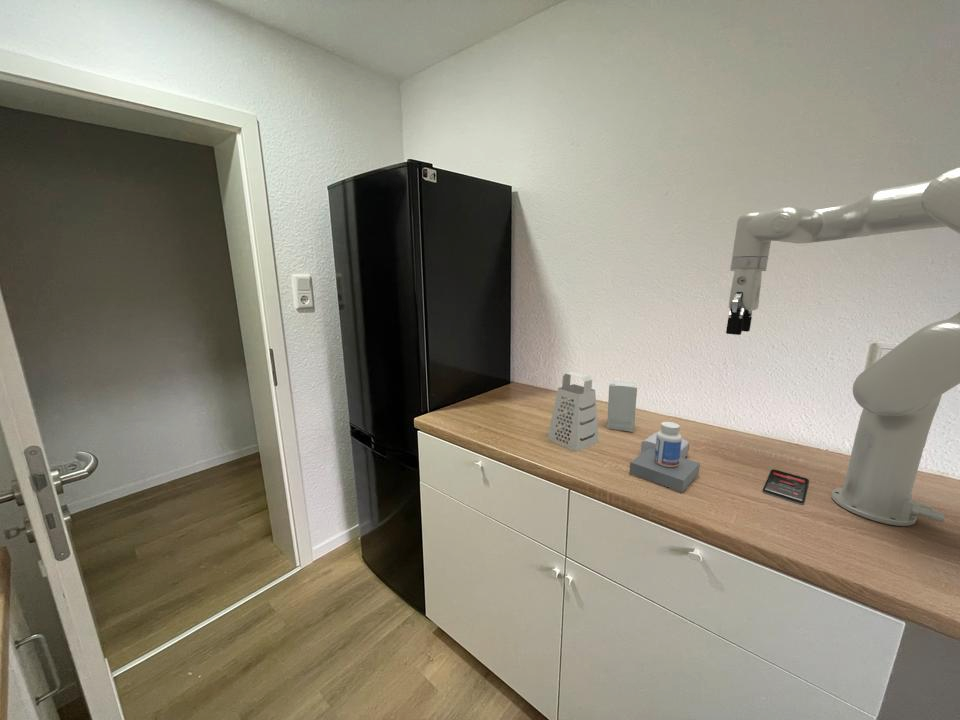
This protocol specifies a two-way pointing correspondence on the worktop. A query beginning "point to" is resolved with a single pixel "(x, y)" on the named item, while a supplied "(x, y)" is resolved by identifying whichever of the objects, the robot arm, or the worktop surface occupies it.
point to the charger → (651, 443)
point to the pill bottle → (668, 445)
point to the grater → (575, 414)
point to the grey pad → (664, 471)
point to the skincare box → (622, 405)
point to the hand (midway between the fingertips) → (737, 332)
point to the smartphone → (786, 486)
